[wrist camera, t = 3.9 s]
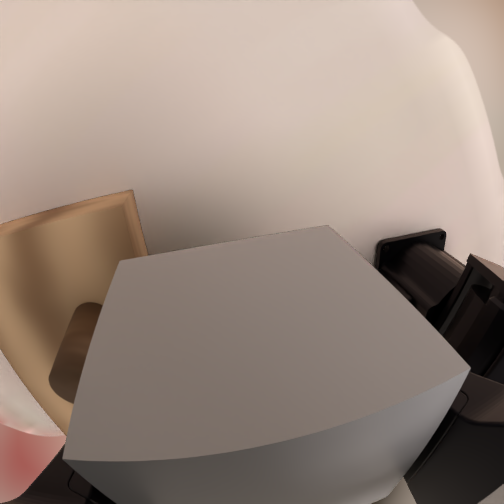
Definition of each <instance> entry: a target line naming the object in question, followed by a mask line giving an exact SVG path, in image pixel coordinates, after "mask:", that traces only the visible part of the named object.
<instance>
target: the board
mask: <svg viewBox="0 0 504 504" xmlns="http://www.w3.org/2000/svg"><path fill="white" fill-rule="evenodd" d="M143 256H148V252H147V249H146V245H145V241H144V237H143V233H142V229H141V225H140V220H139V216H138V212H137V207H136V203H135V198H134V194H133V190H129V191H124V192H120V193H115V194H111V195H106V196H102V197H98V198H94V199H90V200H86V201H81V202H77V203H74V204H70V205H66V206H62V207H58V208H55V209H51V210H47V211H44V212H40V213H37V214H33V215H30V216H26V217H23V218H20V219H16V220H13V221H10V222H7V223H3V224H0V349H1V351H2V352H3V354H4V355H5V357H6V358H7V360H8V361H9V363H10V365H11V366H12V368H13V369H14V370H15V372H16V373H17V375H18V376H19V378H20V379H21V381H22V382H23V383H24V385H25V386H26V387H27V389H28V390H29V391H30V393H31V394H32V395H33V397H34V398H35V399H36V401H37V402H38V403H39V404H40V406H41V407H42V408H43V409H44V411H45V412H46V413H47V414H48V416H49V417H50V418H51V419H52V420H53V421H54V423H55V424H56V425H57V426H58V427H59V428H60V430H61V431H62V432H63V433H64V434H65V435H66V436H67V432H68V427H69V423H70V418H71V414H72V409H73V405H74V401H75V397H76V393H77V389H78V385H79V381H80V378H81V374H82V370H83V367H84V363H85V360H86V356H87V353H88V350H89V346H90V343H91V340H92V337H93V334H94V331H95V327H96V324H97V321H98V318H99V315H100V313H101V310H102V307H103V304H104V301H105V298H106V295H107V293H108V290H109V287H110V285H111V282H112V279H113V277H114V274H115V271H116V269H117V266H118V264H119V261H121V260H127V259H132V258H138V257H143Z"/></svg>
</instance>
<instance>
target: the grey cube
mask: <svg viewBox="0 0 504 504" xmlns="http://www.w3.org/2000/svg"><path fill="white" fill-rule="evenodd" d="M470 369H471V368H470V366H469V365H468V364H467V363H466V362H465V361H464V360H463V358H462V357H461V356H460V355H459V354H458V353H457V352H456V351H455V350H454V349H453V347H452V346H451V345H450V344H449V343H448V342H447V341H446V340H445V339H444V338H443V337H442V336H441V334H440V333H439V332H438V331H437V330H436V329H435V328H434V327H433V326H432V325H431V324H430V323H429V322H428V321H427V320H426V319H425V318H424V317H423V316H422V315H421V313H420V312H419V311H418V310H417V309H416V308H415V307H414V306H413V305H412V304H411V303H410V302H409V301H408V300H407V299H406V298H405V297H404V296H403V295H402V294H401V293H400V292H399V291H398V290H397V289H396V288H395V287H394V286H393V285H392V284H391V283H390V282H389V281H388V280H387V279H386V278H385V277H383V276H382V275H381V274H380V273H379V272H378V271H377V270H376V269H375V268H374V267H373V266H372V265H371V264H370V263H369V262H368V261H367V260H366V259H365V258H364V257H363V256H361V255H360V254H359V253H358V252H357V251H356V250H355V249H354V248H353V247H352V246H351V245H350V244H349V243H347V242H346V241H345V240H344V239H343V238H342V237H341V236H340V235H339V234H338V233H336V232H335V231H334V230H333V229H332V228H331V227H330V226H329V225H325V226H319V227H313V228H307V229H301V230H294V231H288V232H282V233H276V234H270V235H264V236H258V237H252V238H246V239H240V240H234V241H229V242H223V243H217V244H211V245H205V246H200V247H194V248H188V249H182V250H177V251H171V252H165V253H160V254H154V255H149V256H143V257H138V258H132V259H127V260H121V261H119V264H118V266H117V269H116V271H115V274H114V277H113V279H112V282H111V285H110V287H109V290H108V293H107V295H106V298H105V301H104V304H103V307H102V310H101V313H100V315H99V318H98V321H97V324H96V327H95V331H94V334H93V337H92V340H91V343H90V346H89V350H88V353H87V356H86V360H85V363H84V367H83V370H82V374H81V378H80V381H79V385H78V389H77V393H76V397H75V401H74V405H73V409H72V414H71V418H70V423H69V427H68V432H67V438H66V442H65V448H64V453H63V460H64V461H65V462H66V463H67V464H68V465H69V466H71V467H72V468H73V469H74V470H75V471H76V472H77V473H79V474H80V475H81V476H82V477H83V478H84V479H86V480H87V481H88V482H89V483H90V484H92V485H93V486H94V487H95V488H97V489H98V490H99V491H100V492H102V493H103V494H104V495H106V496H107V497H108V498H110V499H111V500H112V501H114V502H115V503H117V504H371V503H373V502H375V501H378V500H380V499H382V498H385V497H387V496H388V494H389V493H390V492H391V491H392V490H393V488H394V487H395V486H396V485H397V484H398V482H399V481H400V480H401V479H402V477H403V476H404V475H405V474H406V472H407V471H408V470H409V468H410V467H411V466H412V464H413V463H414V462H415V460H416V459H417V458H418V456H419V455H420V453H421V452H422V451H423V449H424V448H425V446H426V445H427V443H428V442H429V440H430V439H431V437H432V436H433V434H434V433H435V431H436V430H437V428H438V426H439V425H440V423H441V422H442V420H443V418H444V417H445V415H446V413H447V412H448V410H449V408H450V406H451V405H452V403H453V401H454V399H455V398H456V396H457V394H458V392H459V390H460V388H461V386H462V384H463V383H464V381H465V379H466V377H467V375H468V373H469V371H470Z"/></svg>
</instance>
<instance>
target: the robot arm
mask: <svg viewBox="0 0 504 504" xmlns="http://www.w3.org/2000/svg"><path fill="white" fill-rule="evenodd" d="M440 235H441V236H440ZM445 240H446V232H445V231H444V230H442V229H436V230H431V231H427V232H422V233H417V234H412V235H407V236H402V237H397V238H391V239H386V240H383V241H381V242H380V243H379V244H378V247H377V258H376V268H375V269H376V270H377V271H378V272H379V273H380V274H381V275H382V276H383V277H385V278H386V279H387V280H388V281H389V282H390V283H391V284H392V285H393V286H394V287H395V288H396V289H397V290H398V291H399V292H400V293H401V294H402V295H403V296H404V297H405V298H406V299H407V300H408V301H409V302H410V303H411V304H412V305H413V306H414V307H415V308H416V309H417V310H418V311H419V312H420V313H421V315H422V316H423V317H424V318H425V319H426V320H427V321H428V322H429V323H430V324H431V325H432V326H433V327H434V328H435V329H436V330H437V331H438V332H439V333H440V334H441V336H442V337H443V338H444V339H445V340H446V341H447V342H448V343H449V344H450V345H451V346H452V347H453V349H454V350H455V351H456V352H457V353H458V354H459V355H460V356H461V357H462V358H463V360H464V361H465V362H466V363H467V364H468V365H469V366H470V368H471V369H470V371H469V373H468V375H467V377H466V379H465V381H464V383H463V384H462V386H461V388H460V390H459V392H458V394H457V396H456V398H455V399H454V401H453V403H452V405H451V406H450V408H449V410H448V412H447V413H446V415H445V417H444V418H443V420H442V422H441V423H440V425H439V426H438V428H437V430H436V431H435V433H434V434H433V436H432V437H431V439H430V440H429V442H428V443H427V445H426V446H425V448H424V449H423V451H422V452H421V453H420V455H419V456H418V458H417V459H416V460H415V462H414V463H413V464H412V466H411V467H410V468H409V470H408V471H407V472H406V474H405V475H404V476H403V477H404V479H405V481H406V483H408V484H407V485H408V487H409V489H410V491H411V493H412V495H413V497H414V499H415V501H416V503H417V504H504V268H503V267H501V266H499V265H497V264H495V263H493V262H490V261H488V260H485V259H483V258H480V257H478V256H476V255H473V254H471V253H470V255H469V257H468V259H467V264H466V266H465V265H464V264H462V263H461V262H460V261H458V260H457V259H455V258H454V257H452V256H451V255H450V254H448V253H447V252H445V251H444V246H445ZM385 246H386V248H385V249H384V247H385ZM383 249H384V250H383ZM64 448H65V444H64V446H63V447H62V448H61V450H60V451H59V452H58V454H57V455H56V456H55V457H54V459H53V460H52V461H51V462H50V463H49V465H48V466H47V467H46V468H45V469H44V470H43V471H42V473H41V474H40V475H39V476H38V477H37V478H36V480H35V481H34V482H33V483H32V484H31V486H29V488H28V489H27V490H26V491H25V492H24V493H23V494H22V495H20V496H19V497H17V498H16V499H14V500H11V501H8V502H4V503H0V504H117V503H115V502H114V501H112V500H111V499H110V498H108V497H107V496H106V495H104V494H103V493H102V492H100V491H99V490H98V489H97V488H95V487H94V486H93V485H92V484H90V483H89V482H88V481H87V480H86V479H84V478H83V477H82V476H81V475H80V474H79V473H77V472H76V471H75V470H74V469H73V468H72V467H71V466H69V465H68V464H67V463H66V462H65V461H64V460H63V453H64Z"/></svg>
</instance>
